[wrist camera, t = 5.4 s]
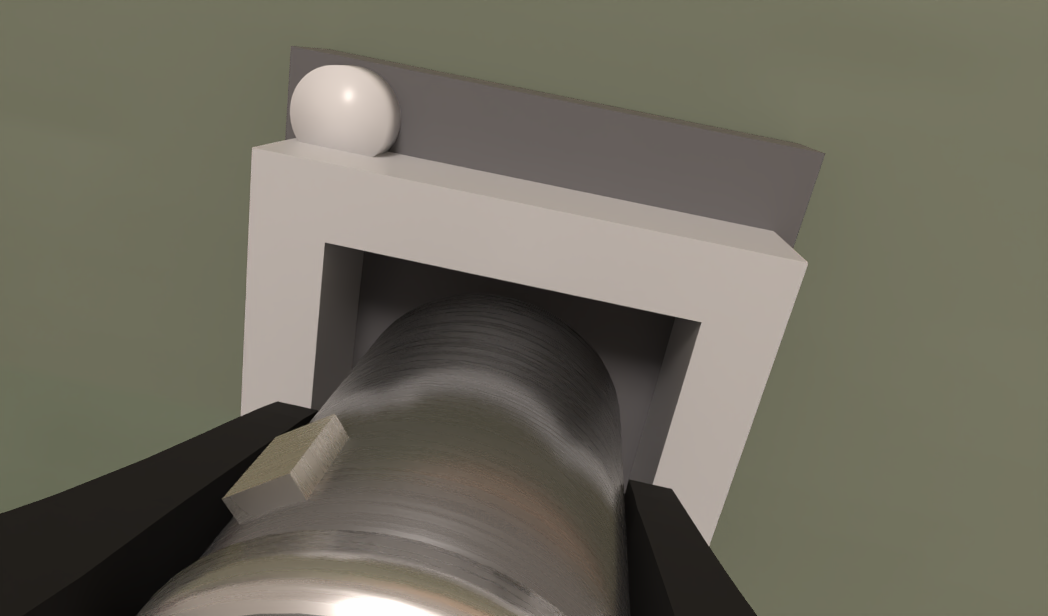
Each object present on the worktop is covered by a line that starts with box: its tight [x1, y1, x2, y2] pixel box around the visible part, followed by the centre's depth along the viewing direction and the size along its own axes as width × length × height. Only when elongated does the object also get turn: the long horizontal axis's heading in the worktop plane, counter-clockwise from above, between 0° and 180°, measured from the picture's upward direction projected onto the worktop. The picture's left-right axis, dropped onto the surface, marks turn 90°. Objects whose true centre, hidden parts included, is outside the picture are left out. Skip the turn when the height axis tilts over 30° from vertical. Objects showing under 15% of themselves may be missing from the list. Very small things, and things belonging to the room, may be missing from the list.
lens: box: [136, 294, 630, 616], centre depth 8 cm, size 5×5×6 cm
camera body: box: [241, 46, 825, 546], centre depth 13 cm, size 11×9×4 cm
